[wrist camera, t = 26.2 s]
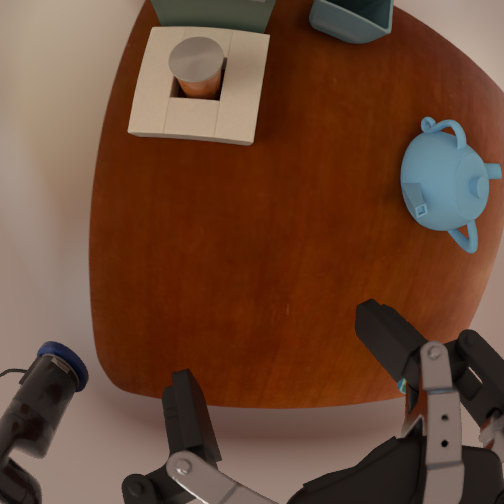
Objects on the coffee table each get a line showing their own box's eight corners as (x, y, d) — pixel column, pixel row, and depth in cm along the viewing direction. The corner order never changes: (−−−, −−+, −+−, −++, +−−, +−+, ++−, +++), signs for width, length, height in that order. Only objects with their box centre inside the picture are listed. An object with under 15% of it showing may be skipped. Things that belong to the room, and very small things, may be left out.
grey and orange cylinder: (190, 111, 28) (178, 90, 19) (176, 78, 26) (161, 49, 18) (228, 95, 28) (231, 69, 19) (214, 63, 26) (212, 29, 18)
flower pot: (308, -7, 23) (328, -41, 15) (364, 17, 25) (394, -9, 16) (294, 32, 26) (316, -2, 17) (356, 58, 27) (391, 34, 19)
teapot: (445, 245, 37) (492, 267, 26) (373, 203, 33) (427, 220, 23) (470, 164, 33) (518, 170, 23) (404, 107, 30) (458, 96, 19)
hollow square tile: (138, 136, 28) (127, 132, 24) (159, 40, 24) (152, 26, 20) (249, 145, 30) (253, 142, 26) (264, 48, 26) (270, 34, 22)
